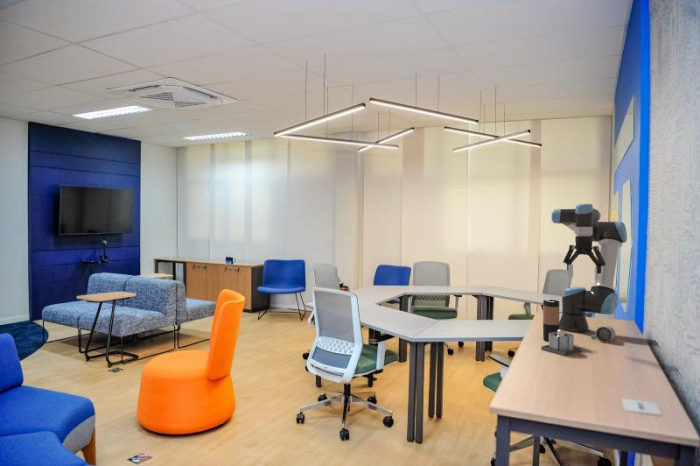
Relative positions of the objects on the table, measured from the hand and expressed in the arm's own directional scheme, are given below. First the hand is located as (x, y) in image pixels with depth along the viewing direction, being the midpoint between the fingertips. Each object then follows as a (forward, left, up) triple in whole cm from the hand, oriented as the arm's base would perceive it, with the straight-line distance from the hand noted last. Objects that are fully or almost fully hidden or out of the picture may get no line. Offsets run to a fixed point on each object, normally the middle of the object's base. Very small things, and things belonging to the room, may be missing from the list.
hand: (583, 279), depth 229 cm
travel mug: (+8, -12, -32) cm, 35 cm away
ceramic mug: (-14, +2, -32) cm, 35 cm away
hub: (+21, +2, -30) cm, 37 cm away
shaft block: (+21, +2, -32) cm, 38 cm away
